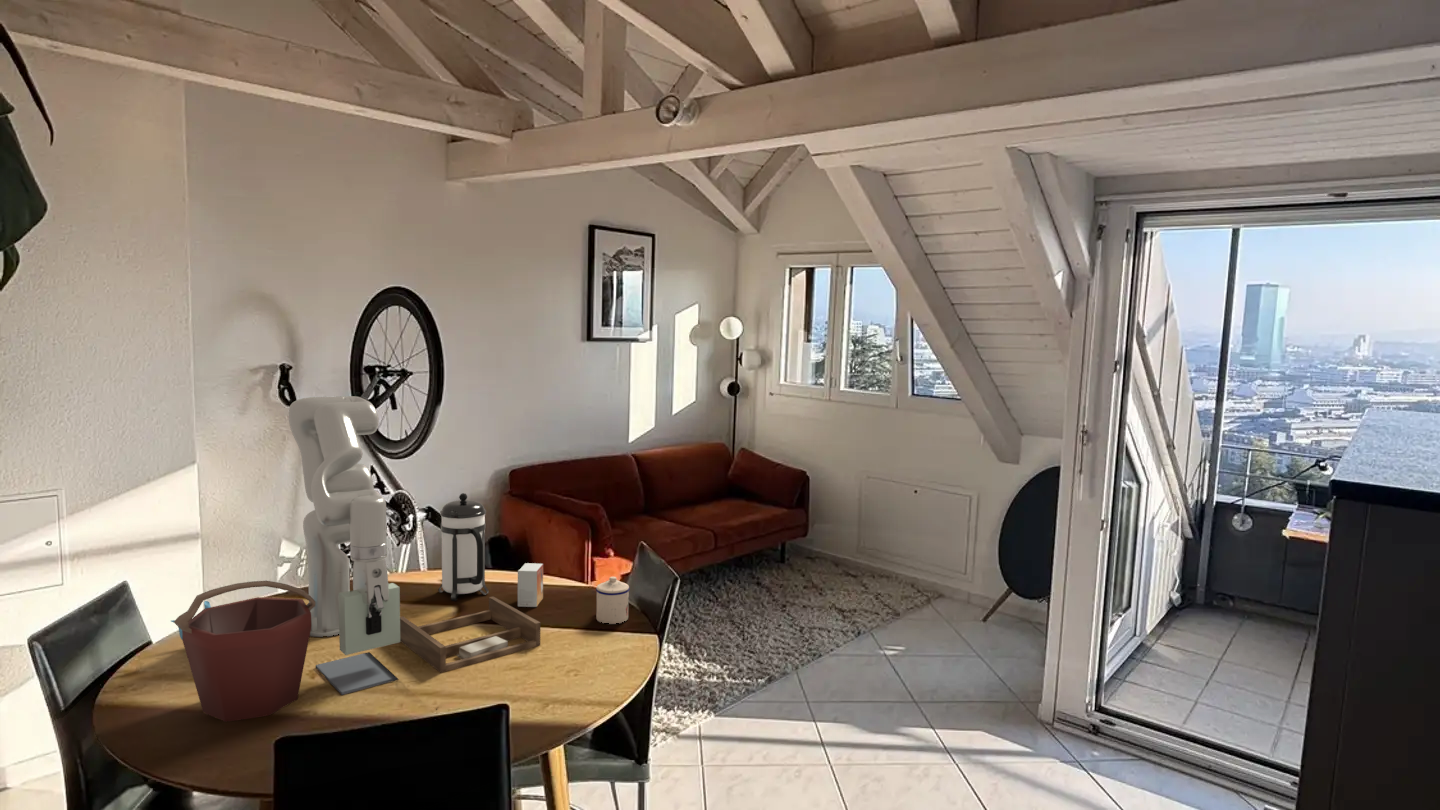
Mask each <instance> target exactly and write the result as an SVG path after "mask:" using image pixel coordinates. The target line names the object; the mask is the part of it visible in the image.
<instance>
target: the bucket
mask: <svg viewBox="0 0 1440 810" xmlns="http://www.w3.org/2000/svg"><path fill="white" fill-rule="evenodd" d="M261 587H262V588H263V587H264V588H265V587H267V588H268V587H269V588H274V589H279V590H284V591H288V592H289V593H290V592H291V593H294V594H297V595H300V596H302V597H303V598H305V599H306V600H307V601H308V603H307V604H306V603H305V600H304V599H303V598H286V597H285V598H284V597H283V598H281V597H259V596H257V597H252V598H247V599H242V600H240V601H233V602H229V603H225V604H224V603H223V604H220V605H214V606H211V607H210V608H205V607H204V608H203V609H202V610H201V611H200V612H198V611H199V609H200V607H201V606H202V604H203V603H204V601H207V600H208V599H211V598H215V597H217V596H219V595H223V594H225V593H229V592H230V593H231V592H233V591H238V590H243V589H244V590H245V589H250V588H261ZM309 601H310V602H309ZM315 604H316V602H315V600H314V599H313V598H312V597H311V596H310V595H309V593H307V591H305V590H304V589H302V588H299V587H296V586H293V585H291V584H286V583H282V582H277V581H271V580H258V581H255V580H254V581H244V582H238V583H233V584H232V583H231V584H229V585H225V586H220V587H217V588H212V589H210V590H206V591H205V592H203V593H200V594H197V595H196V596H195V597H194V599H193V601H192V602H191V604H190V606H189V608H188V610H187V611H185V612H183V613H182V614H180V615H179V616H177V618H176V619H174V620H175V621H174V622H173V623H174V624H175V625H176V626H177V628H178V627H179V628H180V629H181V630H182V638H183V640H182V644H183V647H184V650H185V653H186V658H187V661H188V664H189V667H190V671H191V674H192V678H193V682H194V684H195V689H196V692H197V695H198V696H197V697H198V698H199V703H200V706H201V710H202V713H203V712H205V713H206V715H208V714H209V716H210V715H211V717H213V716H214V717H213V718H215V717H216V718H215V719H217V718H218V720H220V719H221V720H220V721H222V720H223V721H222V722H224V723H228V722H232V721H240V720H241V719H242V720H247V719H248V720H249V719H254V718H259V717H260V718H261V717H267V716H270V715H272V714H274V713H276V712H277V711H280V710H281V709H283V708H285V707H286V706H288V705H290V704H292V703H294V702H296V701H298V698H299V693H300V687H301V683H302V682H301V681H302V678H303V672H304V666H305V662H306V657H307V652H308V646H309V641H310V637H311V636H310V631H311V612H310V610H311V609H312V608H313V607H315ZM197 612H198V613H197ZM179 628H178V629H179ZM205 713H204V714H205ZM242 720H241V721H242ZM227 721H228V722H227Z"/></svg>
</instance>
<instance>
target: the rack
mask: <svg viewBox="0 0 1440 810" xmlns="http://www.w3.org/2000/svg"><path fill="white" fill-rule="evenodd" d="M490 620H491V621H493V622H494V623H496V624H498V625H500V626H501V627H503V628H504V629H506V630H503V631H498V632H494V633H491V634H487V635H482V636H479V637H475V638H471V639H467V640H463V641H459V642H455V643H451V644H446V645H444V644H443V643H442V642H440V641H438V640H437V639H436V638H435V637H433V636H431V635H433V634H436V633H440V632H441V633H442V632H444V631H448V630H453V629H457V628H461V627H465V626H469V625H472V624H477V623H482V622H485V621H490ZM494 636H497V637H499V638H502V639H504V640H506V641H512V640H516V639H519V638H521V639H523V640H524V642H521V643H517V644H514V645H510V646H509V645H508V646H509V647H506V648H502V649H498V650H495V651H491V652H487V653H483V654H480V655H476V656H472V657H469V658H465V659H461V658H460V659H458V660H455V661H451V662H446V661H447V659H446V658H448V657H451V656H456V654H459V647H462V646H465V645H468V644H472V643H475V642H478V641H481V640H484V639H488V638H491V637H494ZM400 643H402V644H403V646H406V647H407V648H408V649H410V650H411V651H412V652H414V653H415V654H416V655H417V656H418V657H420V658H421V659H422V660H424V661H425V662H426V663H427V664H429V665H430V666H431V667H433V668H434V669H435V670H436V671H438V672H439V673H445V672H448V671H452V670H456V669H459V668H462V667H463V668H464V667H466V666H471V665H474V664H477V663H482V662H485V661H488V660H491V659H492V660H493V659H495V658H499V657H503V656H507V655H510V654H514V653H517V652H520V651H524V650H528V649H531V648H535V647H538V646H541V621H539V620H537V619H535V618H533V617H531V616H529V615H528V614H526V613H524V612H522V611H520V610H518V609H517V608H515V607H513V606H512V605H509V603H506V602H504V601H503V600H500V599H498V598H497V597H495V596H489V597H488V610H482V611H479V612H476V613H469V614H465V615H460V616H457V617H454V618H452V617H451V618H447V619H444V620H441V621H435V622H432V623H427V624H422V625H418V626H417V624H415V623H413V622H412V621H410V620H409V619H408V618H406V617H405V616H404V615H402V616H401V615H400Z"/></svg>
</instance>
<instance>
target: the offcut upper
mask: <svg viewBox="0 0 1440 810" xmlns="http://www.w3.org/2000/svg"><path fill="white" fill-rule="evenodd" d="M508 646H509V642H508V641H506V640H504V639H502V638H499V637H497V636H494V637H491V638H488V639H484V640H481V641H478V642H475V643H472V644H468V645H465V646H462V647H459V656H461V657H463V658H469V657H472V656H476V655H480V654H483V653H487V652H491V651H495V650H498V649H502V648H506V647H508Z"/></svg>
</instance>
